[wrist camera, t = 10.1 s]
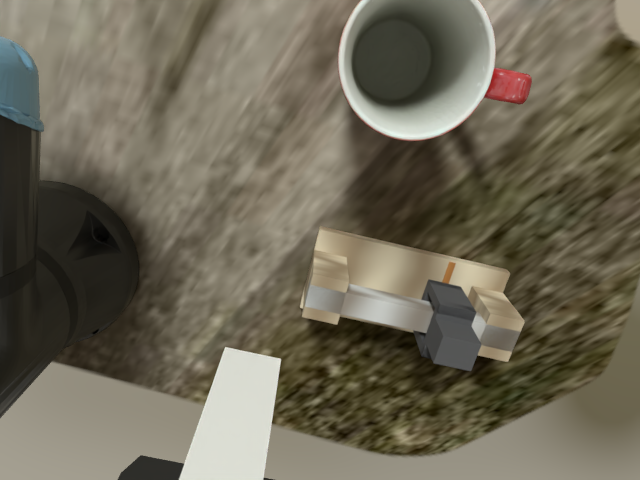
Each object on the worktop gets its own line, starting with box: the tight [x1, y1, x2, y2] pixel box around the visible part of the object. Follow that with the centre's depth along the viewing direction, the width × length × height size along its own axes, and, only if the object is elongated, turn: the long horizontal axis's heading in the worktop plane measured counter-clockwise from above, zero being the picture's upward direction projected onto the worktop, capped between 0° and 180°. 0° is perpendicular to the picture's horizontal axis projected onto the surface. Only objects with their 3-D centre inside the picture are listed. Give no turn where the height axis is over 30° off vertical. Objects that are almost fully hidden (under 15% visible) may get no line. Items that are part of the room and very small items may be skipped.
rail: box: [300, 226, 525, 362], centre depth 45 cm, size 18×8×7 cm, turn 76°
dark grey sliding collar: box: [413, 279, 482, 371], centre depth 42 cm, size 3×5×8 cm, turn 167°
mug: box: [338, 0, 532, 141], centre depth 35 cm, size 13×9×14 cm
